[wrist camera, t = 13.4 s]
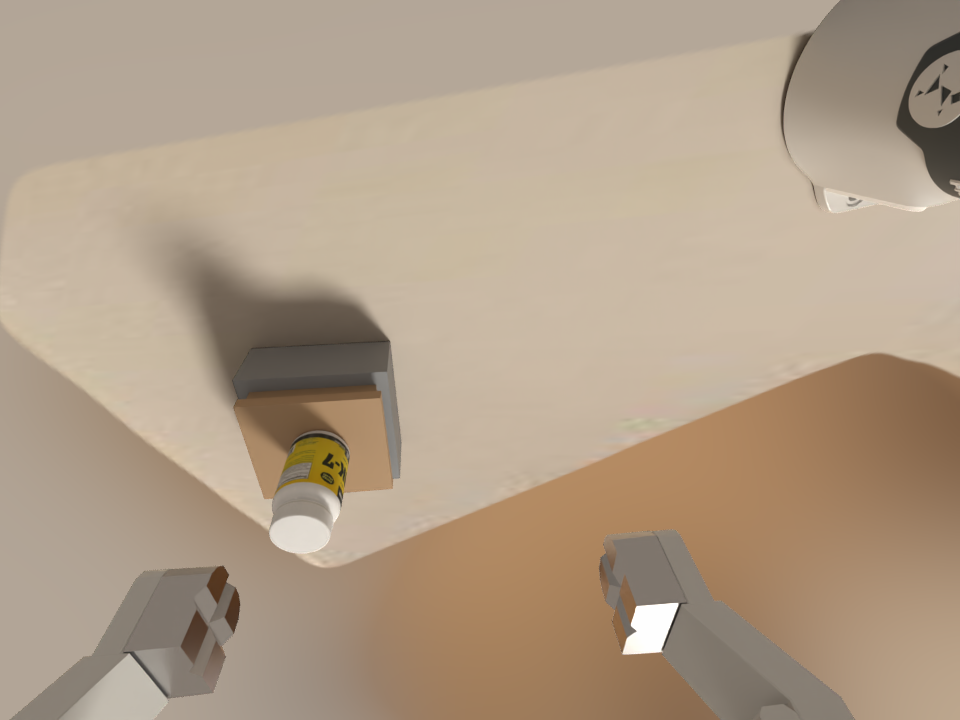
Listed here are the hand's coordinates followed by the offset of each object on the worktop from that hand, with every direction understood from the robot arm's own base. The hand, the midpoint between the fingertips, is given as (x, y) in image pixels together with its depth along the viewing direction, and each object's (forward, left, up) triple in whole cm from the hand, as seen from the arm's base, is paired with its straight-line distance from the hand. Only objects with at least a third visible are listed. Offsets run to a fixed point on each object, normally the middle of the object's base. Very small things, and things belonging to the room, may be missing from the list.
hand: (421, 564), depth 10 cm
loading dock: (+9, +18, -31) cm, 37 cm away
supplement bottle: (+9, +18, -24) cm, 31 cm away
